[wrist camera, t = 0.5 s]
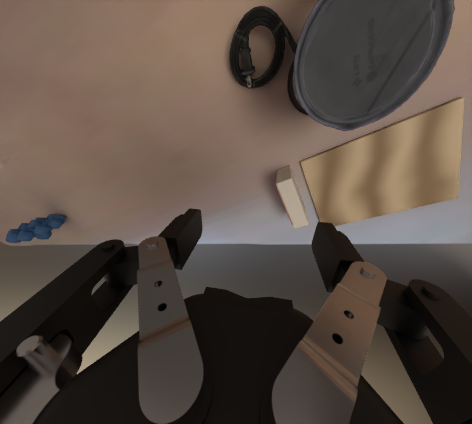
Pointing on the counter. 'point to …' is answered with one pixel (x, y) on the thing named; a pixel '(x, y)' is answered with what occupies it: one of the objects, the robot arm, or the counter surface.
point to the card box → (291, 197)
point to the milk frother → (351, 56)
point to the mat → (389, 168)
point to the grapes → (35, 229)
